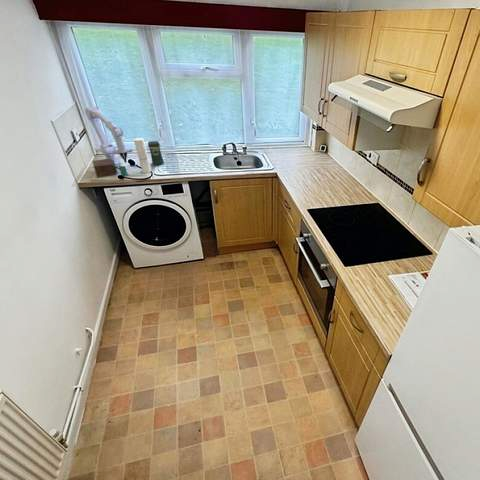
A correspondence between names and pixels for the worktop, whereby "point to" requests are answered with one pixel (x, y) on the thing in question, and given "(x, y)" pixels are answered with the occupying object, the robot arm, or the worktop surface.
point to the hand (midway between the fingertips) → (125, 162)
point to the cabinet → (104, 167)
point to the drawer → (117, 166)
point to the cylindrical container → (142, 155)
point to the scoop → (122, 170)
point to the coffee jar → (155, 152)
